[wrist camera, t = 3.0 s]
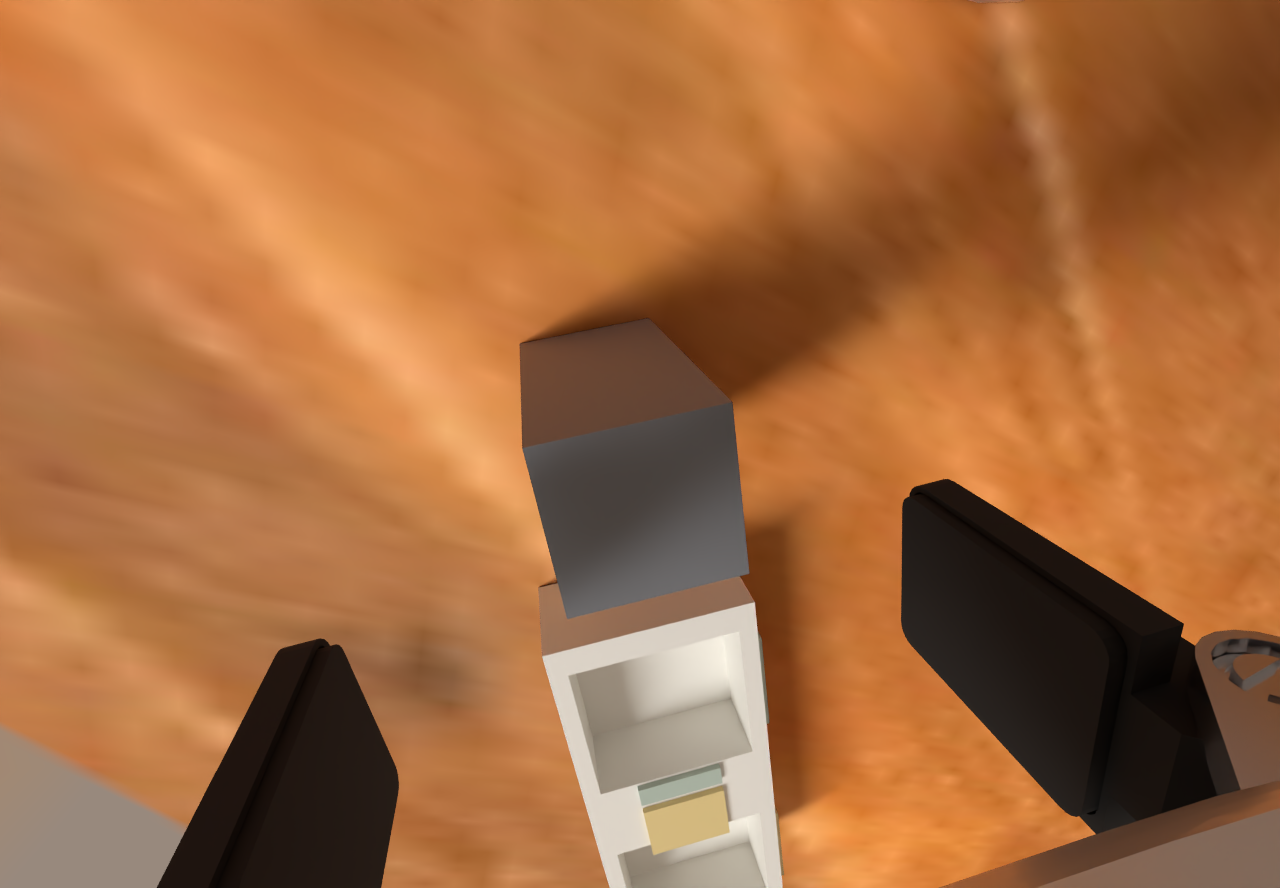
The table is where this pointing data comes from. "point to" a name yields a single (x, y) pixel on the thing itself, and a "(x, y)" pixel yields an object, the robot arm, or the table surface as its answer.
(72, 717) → the table surface
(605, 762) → the socket block
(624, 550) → the plug
